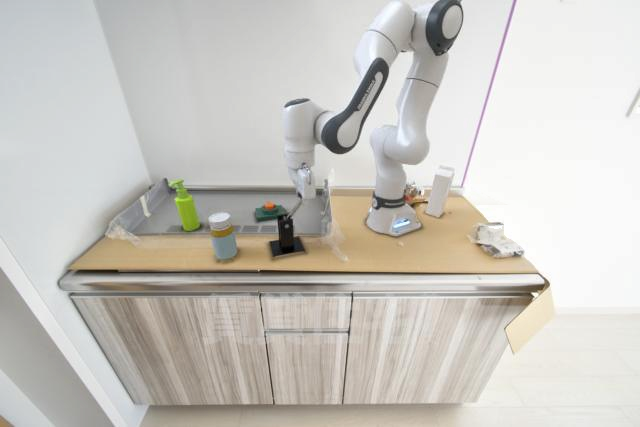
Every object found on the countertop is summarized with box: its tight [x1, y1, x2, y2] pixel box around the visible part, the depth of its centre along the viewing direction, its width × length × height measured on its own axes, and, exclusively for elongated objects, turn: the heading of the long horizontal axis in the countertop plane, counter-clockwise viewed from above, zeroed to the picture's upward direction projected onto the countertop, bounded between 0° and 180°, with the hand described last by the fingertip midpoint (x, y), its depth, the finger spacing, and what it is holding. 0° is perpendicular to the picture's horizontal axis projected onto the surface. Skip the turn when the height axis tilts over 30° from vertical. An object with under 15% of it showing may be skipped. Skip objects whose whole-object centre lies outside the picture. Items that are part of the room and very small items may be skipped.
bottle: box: [208, 212, 239, 261], centre depth 78 cm, size 7×7×15 cm
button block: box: [254, 203, 286, 223], centre depth 106 cm, size 12×9×4 cm
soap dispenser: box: [167, 179, 201, 232], centre depth 92 cm, size 6×7×20 cm
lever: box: [281, 194, 303, 220], centre depth 79 cm, size 12×5×2 cm
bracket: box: [268, 212, 306, 257], centre depth 83 cm, size 11×9×13 cm
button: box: [264, 202, 275, 210], centre depth 104 cm, size 4×4×2 cm
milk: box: [425, 165, 455, 218], centre depth 105 cm, size 6×6×22 cm
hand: (302, 200), depth 79 cm, fingers closed on lever, 5 cm apart
